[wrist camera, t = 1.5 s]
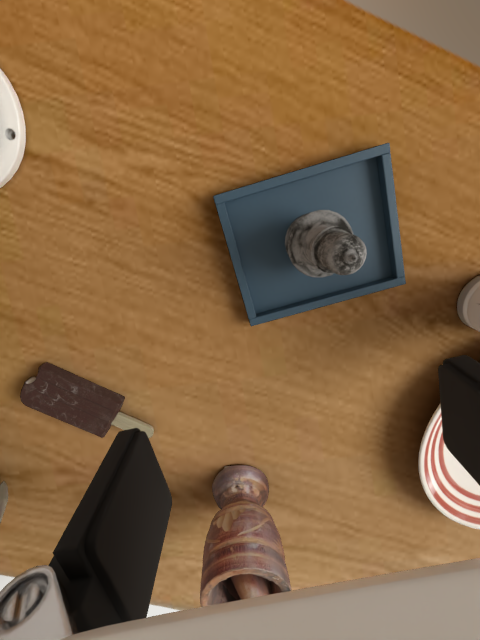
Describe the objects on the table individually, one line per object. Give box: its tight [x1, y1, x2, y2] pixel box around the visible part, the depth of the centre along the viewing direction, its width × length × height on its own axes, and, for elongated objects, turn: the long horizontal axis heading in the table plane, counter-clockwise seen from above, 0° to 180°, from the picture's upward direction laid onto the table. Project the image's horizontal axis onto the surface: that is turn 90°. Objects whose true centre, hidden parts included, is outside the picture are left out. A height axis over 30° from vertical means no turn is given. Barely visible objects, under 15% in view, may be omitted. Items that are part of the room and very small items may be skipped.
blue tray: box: [213, 143, 406, 326], centre depth 32 cm, size 13×16×2 cm
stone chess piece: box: [285, 210, 367, 277], centre depth 27 cm, size 6×6×12 cm
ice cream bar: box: [20, 362, 154, 438], centre depth 37 cm, size 5×2×15 cm
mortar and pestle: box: [200, 465, 291, 607], centre depth 34 cm, size 12×9×20 cm
